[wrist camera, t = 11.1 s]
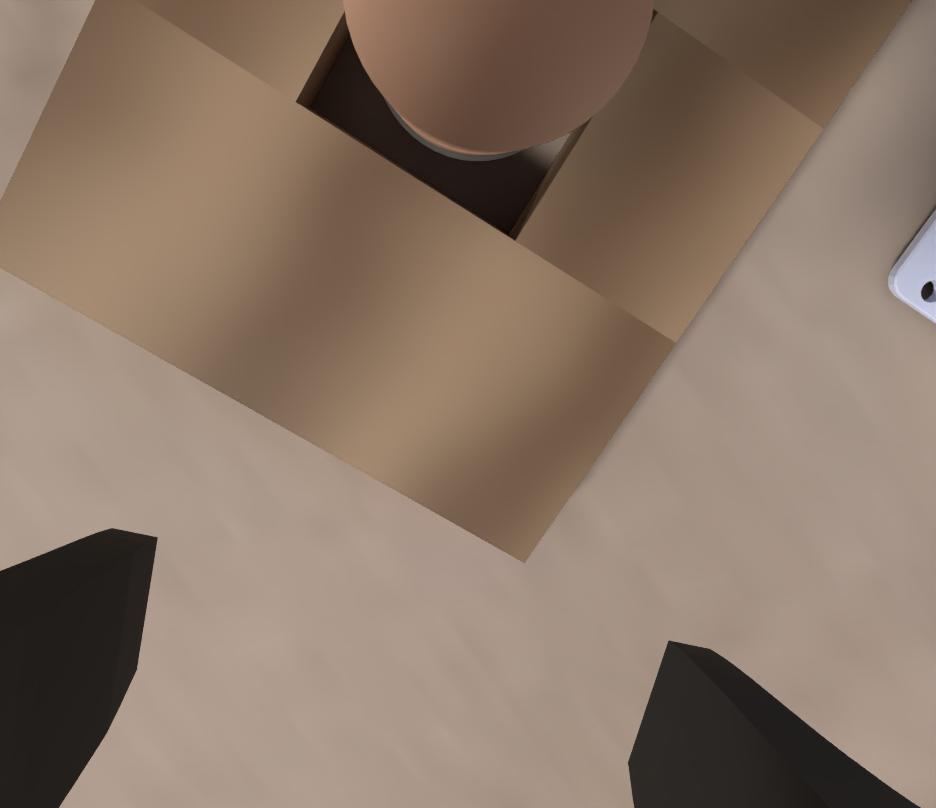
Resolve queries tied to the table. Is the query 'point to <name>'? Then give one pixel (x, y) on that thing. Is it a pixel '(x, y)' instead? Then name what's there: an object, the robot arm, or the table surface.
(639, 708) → the table surface
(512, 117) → the peg
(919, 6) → the table surface
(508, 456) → the board
